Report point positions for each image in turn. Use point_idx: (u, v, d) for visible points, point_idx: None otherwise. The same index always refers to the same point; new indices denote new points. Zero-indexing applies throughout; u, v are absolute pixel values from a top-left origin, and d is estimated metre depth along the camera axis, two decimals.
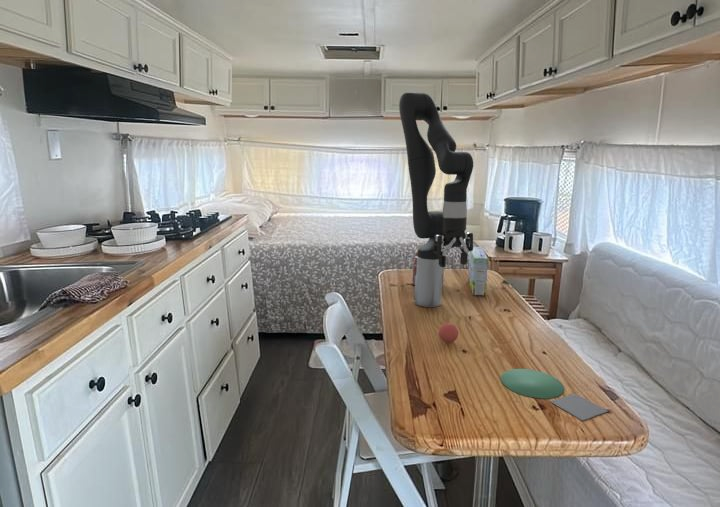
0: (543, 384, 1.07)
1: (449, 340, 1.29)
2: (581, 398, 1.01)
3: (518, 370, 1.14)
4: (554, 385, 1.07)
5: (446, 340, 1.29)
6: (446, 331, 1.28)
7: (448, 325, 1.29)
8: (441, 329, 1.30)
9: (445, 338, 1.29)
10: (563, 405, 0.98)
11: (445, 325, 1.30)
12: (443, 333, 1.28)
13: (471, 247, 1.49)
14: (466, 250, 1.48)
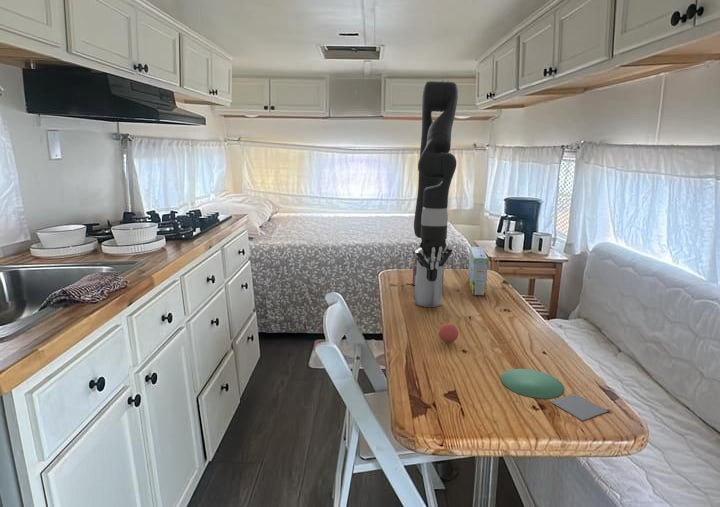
0: (543, 384, 1.07)
1: (449, 340, 1.29)
2: (581, 398, 1.01)
3: (518, 370, 1.14)
4: (554, 385, 1.07)
5: (446, 340, 1.29)
6: (446, 331, 1.28)
7: (448, 325, 1.29)
8: (441, 329, 1.30)
9: (445, 338, 1.29)
10: (563, 405, 0.98)
11: (445, 325, 1.30)
12: (443, 333, 1.28)
13: (441, 262, 1.35)
14: (436, 265, 1.34)
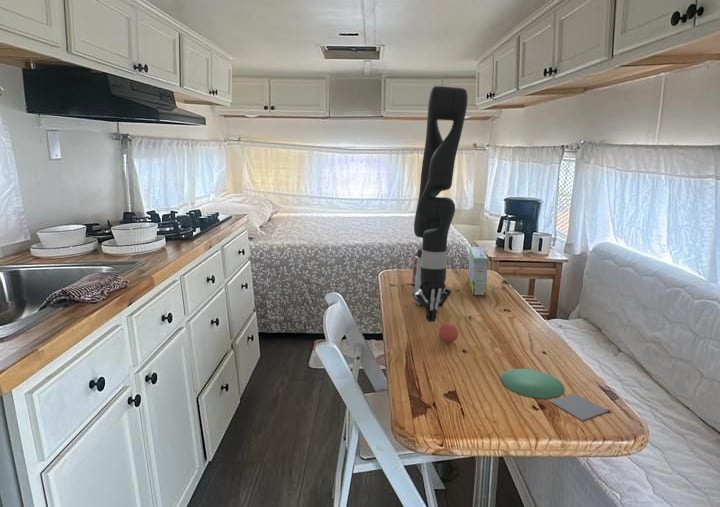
0: (543, 384, 1.07)
1: (449, 340, 1.29)
2: (581, 398, 1.01)
3: (518, 370, 1.14)
4: (554, 385, 1.07)
5: (446, 340, 1.29)
6: (446, 331, 1.28)
7: (448, 325, 1.29)
8: (441, 329, 1.30)
9: (445, 338, 1.29)
10: (563, 405, 0.98)
11: (445, 325, 1.30)
12: (443, 333, 1.28)
13: (440, 303, 1.37)
14: (436, 306, 1.37)
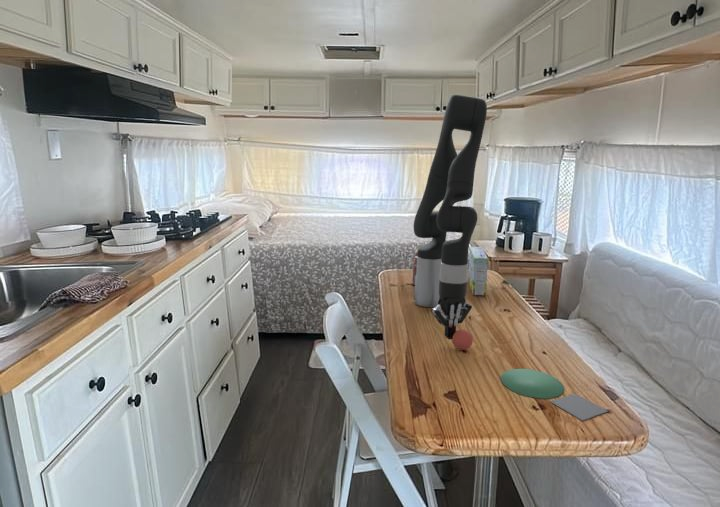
0: (543, 384, 1.07)
1: None
2: (581, 398, 1.01)
3: (518, 370, 1.14)
4: (554, 385, 1.07)
5: (453, 343, 1.27)
6: (460, 347, 1.24)
7: (466, 346, 1.24)
8: (460, 341, 1.24)
9: None
10: (563, 405, 0.98)
11: (465, 343, 1.23)
12: (457, 345, 1.24)
13: (460, 319, 1.28)
14: (455, 322, 1.27)
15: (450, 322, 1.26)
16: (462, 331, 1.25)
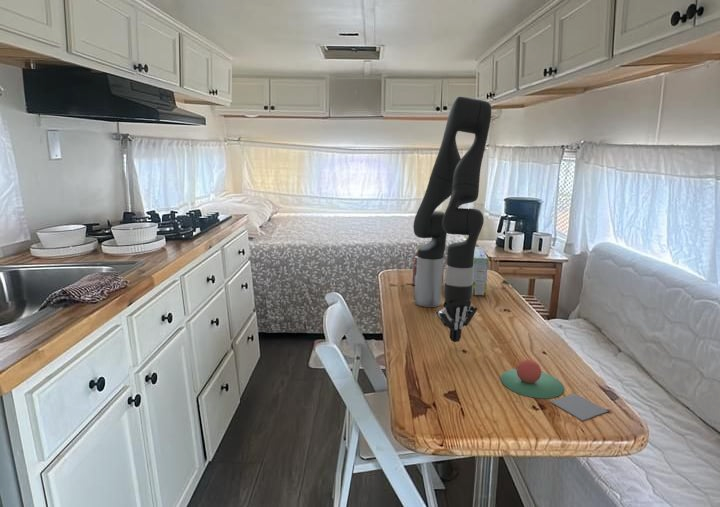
0: (543, 384, 1.07)
1: (519, 363, 1.09)
2: (581, 398, 1.01)
3: None
4: (554, 385, 1.07)
5: (520, 364, 1.08)
6: None
7: None
8: (523, 379, 1.07)
9: (518, 367, 1.08)
10: (563, 405, 0.98)
11: (524, 381, 1.08)
12: (518, 374, 1.08)
13: (466, 322, 1.27)
14: (461, 325, 1.27)
15: (455, 325, 1.26)
16: (536, 377, 1.06)
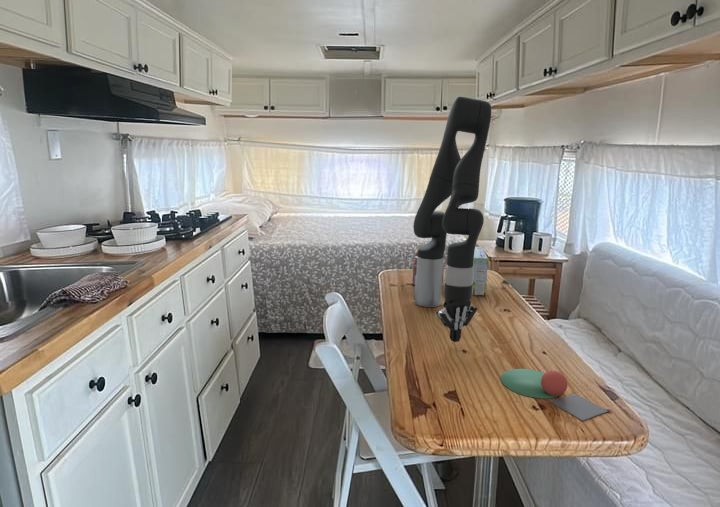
0: None
1: (559, 389, 1.00)
2: (581, 398, 1.01)
3: (518, 370, 1.14)
4: None
5: (556, 390, 1.00)
6: (551, 378, 1.01)
7: (550, 372, 1.02)
8: (543, 380, 1.02)
9: (553, 388, 1.00)
10: (563, 405, 0.98)
11: (546, 373, 1.03)
12: (548, 382, 1.01)
13: (466, 322, 1.27)
14: (461, 325, 1.27)
15: (455, 325, 1.26)
16: None
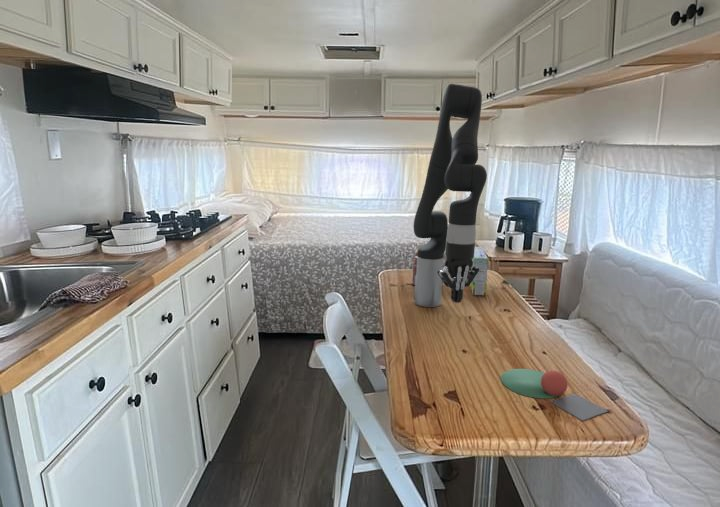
0: None
1: (559, 389, 1.00)
2: (581, 398, 1.01)
3: (518, 370, 1.14)
4: None
5: (556, 390, 1.00)
6: (551, 378, 1.01)
7: (550, 372, 1.02)
8: (543, 380, 1.02)
9: (553, 388, 1.00)
10: (563, 405, 0.98)
11: (546, 373, 1.03)
12: (548, 382, 1.01)
13: (467, 282, 1.25)
14: (462, 285, 1.24)
15: (457, 285, 1.23)
16: None
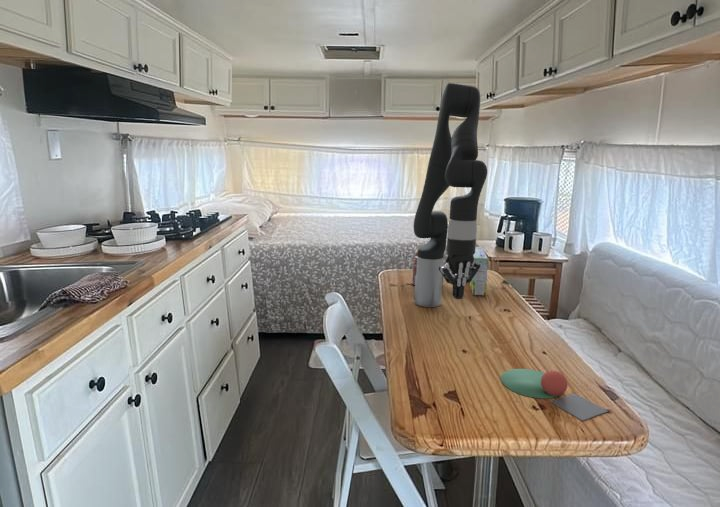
0: None
1: (559, 389, 1.00)
2: (581, 398, 1.01)
3: (518, 370, 1.14)
4: None
5: (556, 390, 1.00)
6: (551, 378, 1.01)
7: (550, 372, 1.02)
8: (543, 380, 1.02)
9: (553, 388, 1.00)
10: (563, 405, 0.98)
11: (546, 373, 1.03)
12: (548, 382, 1.01)
13: (469, 278, 1.25)
14: (464, 281, 1.24)
15: (458, 281, 1.23)
16: None
